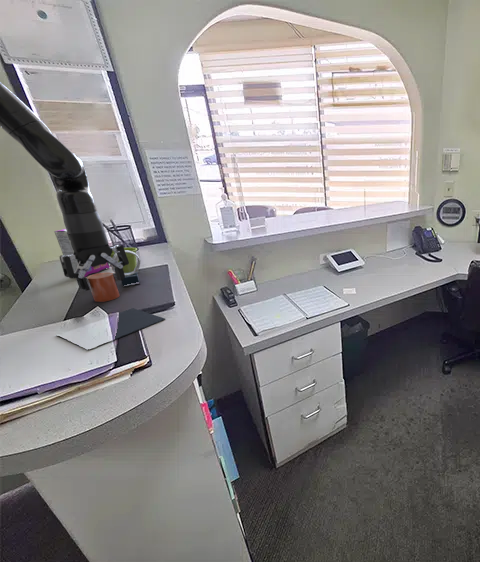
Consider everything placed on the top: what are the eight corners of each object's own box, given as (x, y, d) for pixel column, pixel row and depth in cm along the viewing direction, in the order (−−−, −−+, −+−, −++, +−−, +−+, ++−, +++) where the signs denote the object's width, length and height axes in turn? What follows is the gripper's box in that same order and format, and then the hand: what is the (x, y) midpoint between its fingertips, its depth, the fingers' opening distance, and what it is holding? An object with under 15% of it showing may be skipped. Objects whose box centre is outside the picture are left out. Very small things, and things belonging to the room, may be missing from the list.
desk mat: (88, 351, 64) (87, 349, 64) (55, 335, 70) (55, 334, 70) (165, 319, 78) (165, 318, 78) (133, 309, 84) (133, 307, 83)
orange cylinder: (100, 303, 87) (93, 280, 84) (90, 299, 89) (82, 276, 87) (124, 296, 92) (117, 273, 89) (113, 292, 94) (106, 271, 92)
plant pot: (104, 276, 108) (96, 252, 105) (132, 268, 117) (126, 246, 114) (121, 279, 105) (114, 255, 102) (149, 271, 113) (143, 248, 110)
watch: (115, 283, 102) (105, 251, 98) (145, 278, 106) (137, 247, 102) (115, 288, 97) (104, 255, 94) (146, 283, 102) (137, 251, 98)
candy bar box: (97, 267, 117) (83, 224, 112) (110, 268, 117) (97, 224, 111) (69, 277, 107) (52, 230, 101) (83, 277, 107) (67, 230, 101)
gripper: (108, 224, 91) (124, 275, 97) (44, 232, 79) (66, 291, 85) (123, 226, 88) (138, 279, 94) (58, 235, 76) (80, 296, 82)
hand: (104, 285), depth 89 cm, fingers open, 8 cm apart
